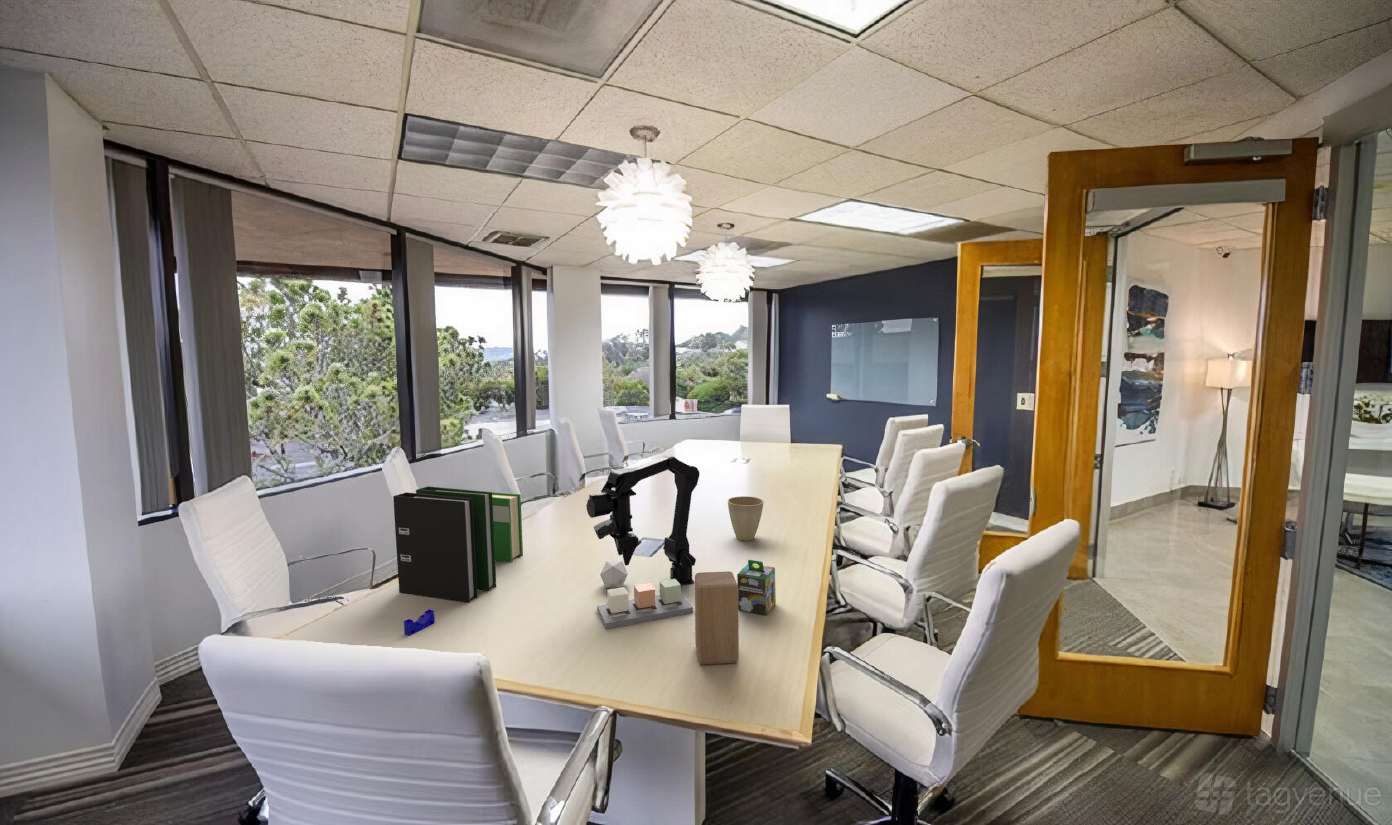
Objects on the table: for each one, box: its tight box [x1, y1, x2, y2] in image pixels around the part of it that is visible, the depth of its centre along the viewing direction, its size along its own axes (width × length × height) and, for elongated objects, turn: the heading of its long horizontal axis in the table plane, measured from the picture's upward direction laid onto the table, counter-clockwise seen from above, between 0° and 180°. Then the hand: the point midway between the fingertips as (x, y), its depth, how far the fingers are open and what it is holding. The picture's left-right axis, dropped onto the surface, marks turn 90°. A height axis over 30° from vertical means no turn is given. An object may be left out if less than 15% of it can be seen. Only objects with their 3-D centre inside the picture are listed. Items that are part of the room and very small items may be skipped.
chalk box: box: [736, 559, 777, 617], centre depth 165 cm, size 9×9×15 cm
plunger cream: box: [606, 586, 630, 614], centre depth 160 cm, size 5×5×5 cm
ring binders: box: [392, 485, 497, 604], centre depth 179 cm, size 27×15×32 cm, turn 71°
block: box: [694, 570, 740, 665], centre depth 138 cm, size 10×10×20 cm
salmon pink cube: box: [633, 582, 656, 609], centre depth 163 cm, size 5×5×5 cm
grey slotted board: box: [596, 593, 694, 630], centre depth 163 cm, size 26×12×2 cm, turn 112°
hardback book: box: [483, 490, 524, 563], centre depth 210 cm, size 18×7×24 cm, turn 72°
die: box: [599, 560, 629, 589], centre depth 182 cm, size 8×9×10 cm
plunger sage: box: [659, 579, 682, 605], centre depth 166 cm, size 5×5×5 cm
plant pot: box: [727, 495, 764, 542], centre depth 229 cm, size 15×15×16 cm
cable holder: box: [403, 608, 436, 637], centre depth 154 cm, size 8×4×4 cm, turn 154°
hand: (623, 559), depth 171 cm, fingers open, 9 cm apart
